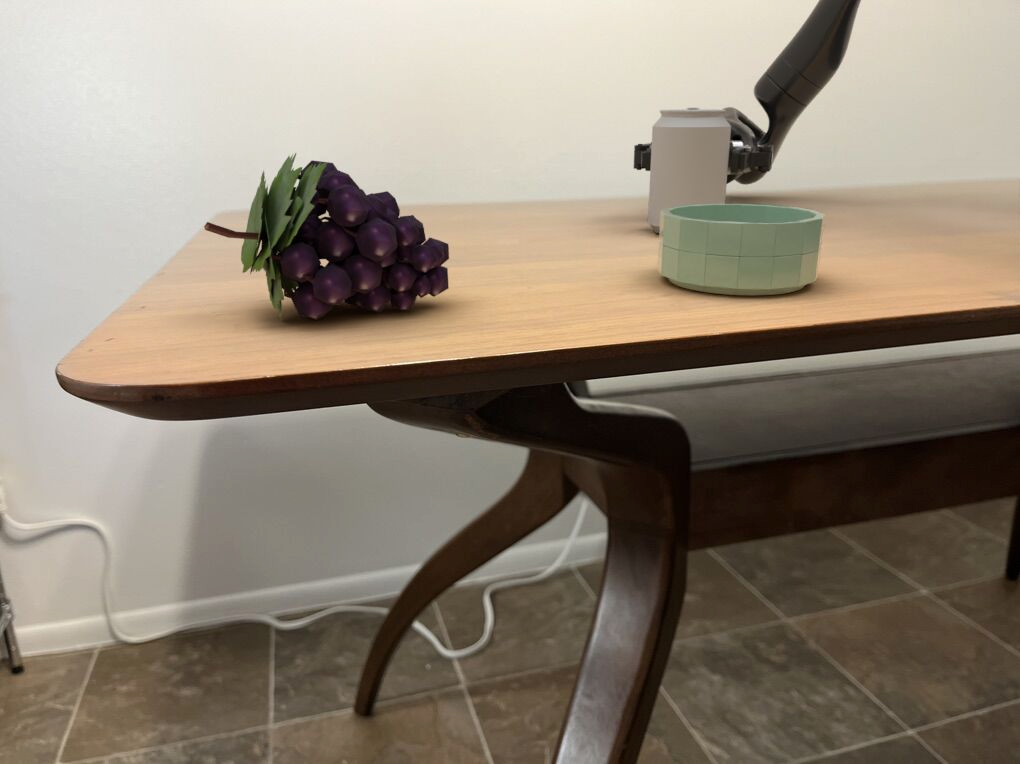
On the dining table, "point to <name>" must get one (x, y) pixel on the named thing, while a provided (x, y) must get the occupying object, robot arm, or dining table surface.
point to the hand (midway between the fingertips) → (691, 160)
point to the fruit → (336, 244)
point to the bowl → (740, 247)
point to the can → (688, 160)
